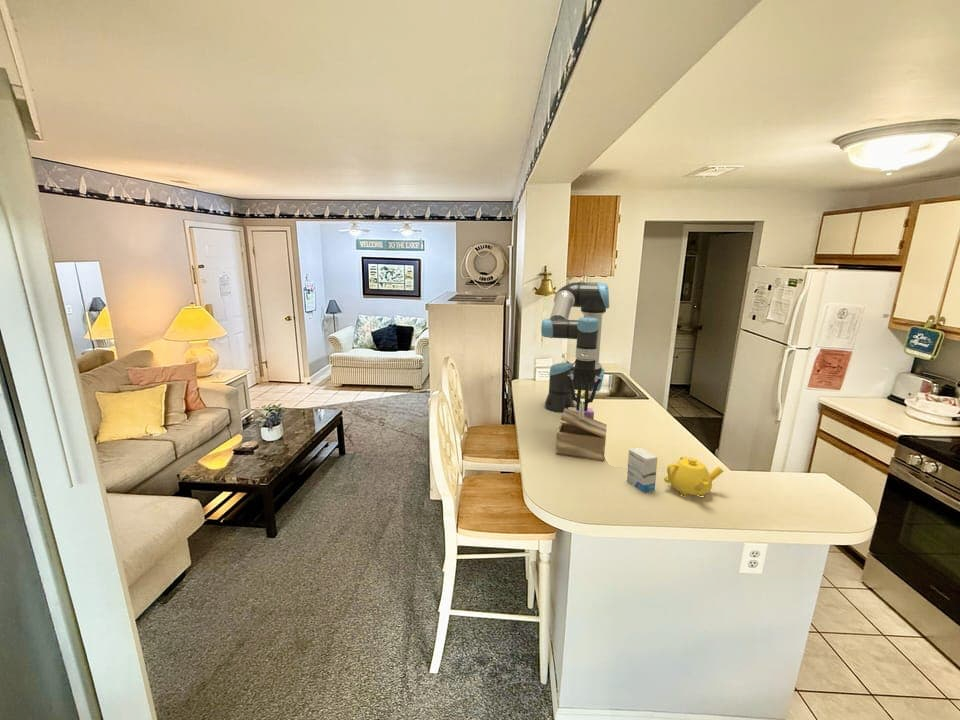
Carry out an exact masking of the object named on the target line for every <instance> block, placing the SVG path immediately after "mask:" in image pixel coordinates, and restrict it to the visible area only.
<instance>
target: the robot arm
mask: <svg viewBox="0 0 960 720" xmlns="http://www.w3.org/2000/svg"><path fill="white" fill-rule="evenodd" d="M553 301H554V302H553V307H552V311H551V314H550V316H549V318H544V319H542V321H541V328H540V329H541V330H540V331H541V333H540V334H541V336H542V337H543V338H547V339H548V338H549V339H568V340H576V346H575V361H574V363H569V362H559V363H555V364H552V365H551V366H550V368H549V374H548V375H549V384H548V393H547V396H546V399H545V401H544V408H545V409H547V411H552V412H555V413H556V412H557V413H563V411H564V409H565V408H567V409H568V407H574V408H576V410H578V411H579V420H583V419H584V411H587V409H588V408H589V407H588V406H589V405H588V404H589V403H593V402H594V399H595V395H596V392H599V391H601V388H602V385H603V380H604V375H605V369H604V368H602V366H603V365H602V364H601V362H600V353H601V352H600V350H601V337H602V326H603V325H602V324H603V323H602V322H603V316H604V314H605V313H606V312H607V310H608V309H610V293H609V285H608V284H607V283H603V282H578V281H577V282H575V281H574V282H571V283H567V284H566V285H564V286H562V287H561V288H559V289H558V290H557V292H556V293H555V295H554V299H553ZM572 308H580V312H581V313H582V314H583V317H579V319H576V320H575V319H569V318H570V313H571V309H572ZM576 391H577V393H576ZM582 391H583V392H584V401H581V397H582ZM589 392H591V395H590V393H589ZM576 394H577V395H576ZM589 395H590V397H589ZM575 403H576V407H575ZM581 411H582V417H581Z"/></svg>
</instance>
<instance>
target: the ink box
mask: <svg viewBox="0 0 960 720" xmlns="http://www.w3.org/2000/svg"><path fill="white" fill-rule="evenodd" d="M627 457H628V458H627V471H626V473H627V475H626V481H627V483H629V482H630V483H629V484H631V485H632V484H633V485H634V486H633V485H632V486H633V487H635V488H636V489H637V490H639V491H641V492H642V493H648V492H653V491H655V490H656V478H657V470H658V469H657V468H658V467H657V465H658V456H656V455H654V454H653V453H651V452H649V451H648V450H645V449H643V448H642V447H636V448H635V447H634V448H629V449H628V455H627Z"/></svg>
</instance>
